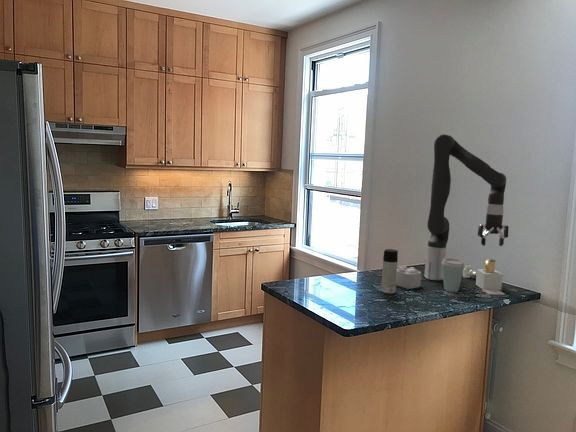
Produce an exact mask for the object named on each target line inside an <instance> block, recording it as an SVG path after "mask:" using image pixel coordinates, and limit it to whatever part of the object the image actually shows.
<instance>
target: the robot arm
mask: <svg viewBox="0 0 576 432" xmlns="http://www.w3.org/2000/svg"><path fill="white" fill-rule="evenodd" d="M433 154H434V155H433V160H434V161H433V169H432V178H431V189H430V190H431V191H430V193H431V194H430V207H429V208H430V209H429V213H428V214H429V215H428V219H427V229H428V231H429V233H430V237H429V240H428V242H427V253H426V258H425V262H424V263H425V264H424V276H423V277H425V279H427V280H432V281H443V269H442V261H443V259H444V258H446V254H447V244H448V242H449V235H450V222H449V219H448V218H447V217H446V216H445V207H446V204H447V202H448V199H449V196H450V191H451V182H452V177H451V176H452V175H451V168H450V156H451V157H453V158H455V159H456V160H458V161H459V162H460V163H461V164H463V166H465V168H467V169H468V170H470V171H471V172H473V173H474V174H475V175H477V176H478V177H480V178H482V180H483V181H484V182H486V183H487V184H489V185H490V191H489V193H488V198H487V207H486V216H485V224H479V225H478V230H477V237H480V238H481V241H480V245H481V246H483V247H484V246H486V241H487V239H486V238H487V237H488V236H489V235H494V234H495V235H498V237H499V239H498V245H499V247H503V245H504V241H505V239H506V238H508V237H509V225H507V224H504V225H503V221H504V219H503V218H504V201H505V191H506V185H507V177H506V175H505V174H504V173H502V172H499V171H497V170H495V168H492V167H491V165H490V164H488V163H487V162H486V161H484V160H482V159H481V158H479V157H478V156H476V155H474V154H473V153H472V152H470V151H468V150H467V149H466V148H464V147H463V146H462V145H461V144H459V142H457V140H455V138H454V137H453V136H452V135H450V134H449V135H448V134H444V133H443V134H440V135H438V136H437V137H436V138H435V139H434V142H433ZM502 229H503V232H502V231H501V230H502Z"/></svg>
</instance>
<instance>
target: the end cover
mask: <svg viewBox="0 0 576 432" xmlns="http://www.w3.org/2000/svg"><path fill="white" fill-rule="evenodd" d="M484 269H485V272H486V273H494V271H495V270H496V259H492V258H486V259H485V265H484Z"/></svg>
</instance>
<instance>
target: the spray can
mask: <svg viewBox="0 0 576 432" xmlns="http://www.w3.org/2000/svg"><path fill="white" fill-rule="evenodd" d="M398 254H399V251H398V250H397V249H391V248H387V249H385V250H383V256H382V273H381V284H380V285H381V286H380V287H381V288H380V291H381V293H384V294H394V293H396V289H397V288H396V287H397V285H396V276H397V268H398Z"/></svg>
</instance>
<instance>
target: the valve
mask: <svg viewBox="0 0 576 432" xmlns="http://www.w3.org/2000/svg"><path fill="white" fill-rule="evenodd" d="M471 268H472V266H471V264H465V266H464V269H463V273H462V277H463V278H465V279H469V278H471V276H475V278H476V276H477V271H474V270H473V269H471Z"/></svg>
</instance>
